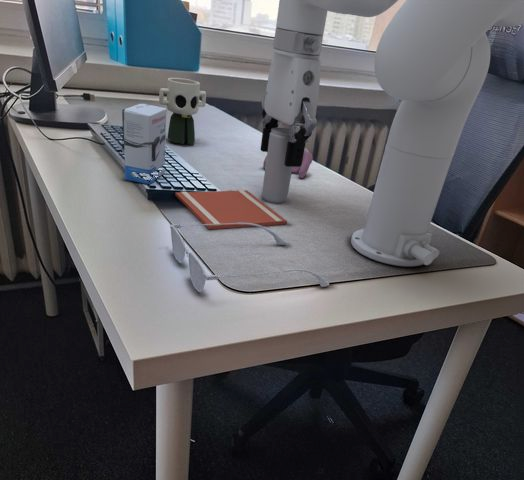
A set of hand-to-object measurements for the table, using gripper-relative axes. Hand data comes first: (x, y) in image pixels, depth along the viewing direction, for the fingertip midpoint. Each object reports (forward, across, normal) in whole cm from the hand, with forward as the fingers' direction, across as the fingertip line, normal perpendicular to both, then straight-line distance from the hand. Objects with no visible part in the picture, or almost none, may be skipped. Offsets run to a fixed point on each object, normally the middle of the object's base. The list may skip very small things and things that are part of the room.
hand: (280, 158), depth 91 cm
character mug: (+8, +38, +4) cm, 39 cm away
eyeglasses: (+8, -25, +18) cm, 32 cm away
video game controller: (+8, +16, -12) cm, 21 cm away
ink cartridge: (+8, +30, +18) cm, 36 cm away
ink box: (+8, +14, +20) cm, 26 cm away
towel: (+7, -4, +11) cm, 14 cm away
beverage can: (+8, 0, 0) cm, 8 cm away
